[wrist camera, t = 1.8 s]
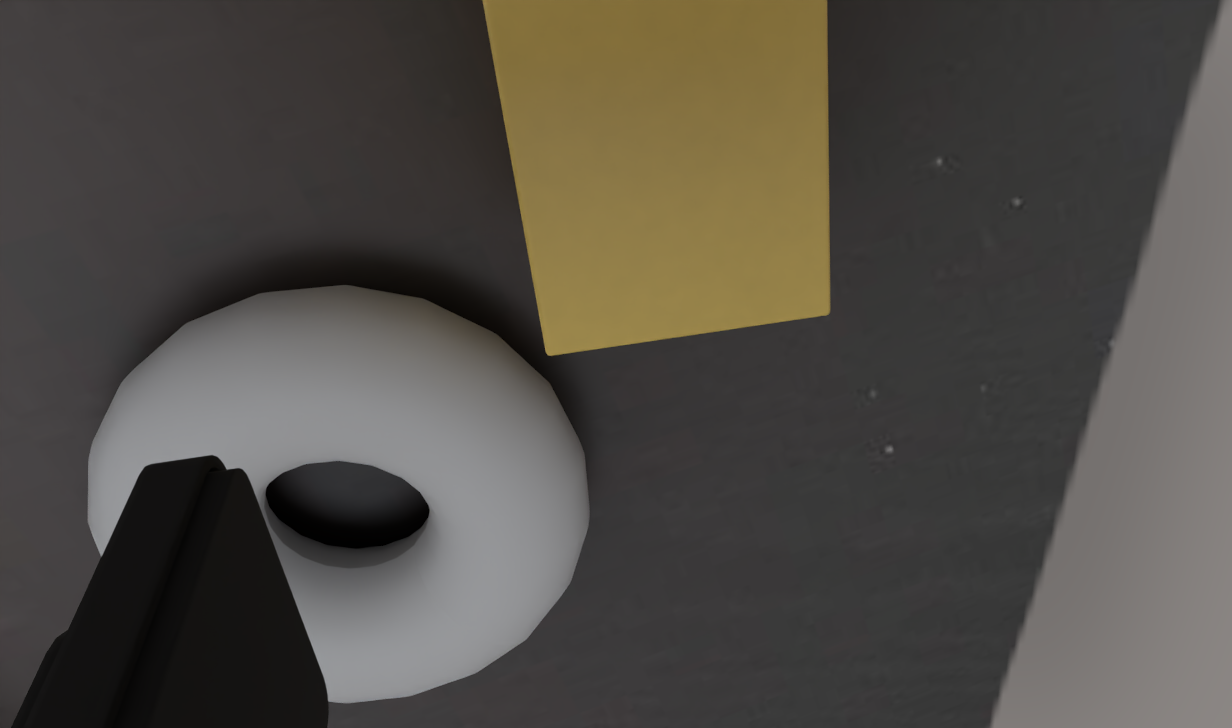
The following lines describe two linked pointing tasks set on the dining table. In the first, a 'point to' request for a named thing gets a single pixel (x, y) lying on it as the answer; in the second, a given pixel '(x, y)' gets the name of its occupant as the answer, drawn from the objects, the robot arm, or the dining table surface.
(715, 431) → the dining table surface
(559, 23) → the cheese
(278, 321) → the donut
